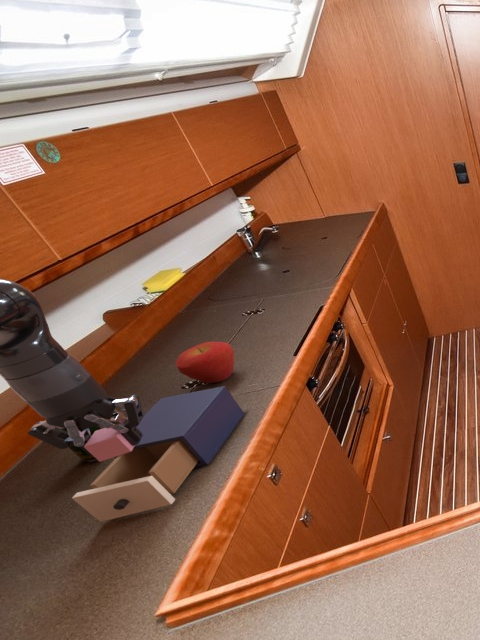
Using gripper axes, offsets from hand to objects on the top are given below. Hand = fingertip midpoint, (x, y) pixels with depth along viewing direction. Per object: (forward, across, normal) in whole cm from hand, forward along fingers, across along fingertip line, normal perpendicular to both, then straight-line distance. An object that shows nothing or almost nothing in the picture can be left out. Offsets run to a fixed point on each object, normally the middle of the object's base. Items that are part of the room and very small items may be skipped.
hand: (119, 447), depth 81 cm
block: (0, 0, 0) cm, 0 cm away
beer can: (+14, +16, -21) cm, 29 cm away
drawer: (+12, 0, 0) cm, 12 cm away
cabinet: (+13, -3, -12) cm, 18 cm away
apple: (+14, -2, -38) cm, 41 cm away
